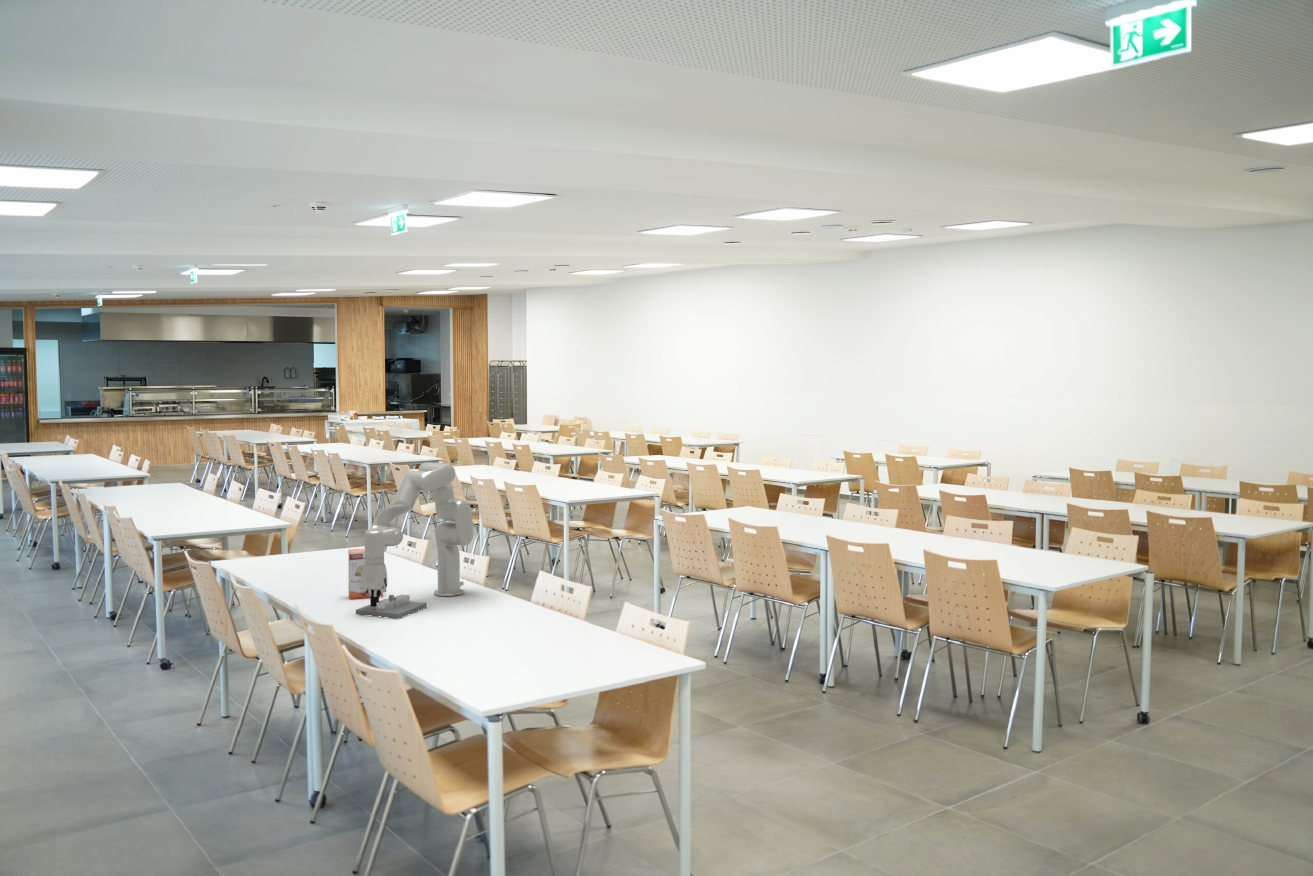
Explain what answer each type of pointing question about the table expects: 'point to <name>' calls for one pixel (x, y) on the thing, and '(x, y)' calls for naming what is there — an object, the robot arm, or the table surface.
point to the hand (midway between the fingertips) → (374, 605)
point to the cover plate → (394, 612)
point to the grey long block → (393, 602)
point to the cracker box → (356, 574)
